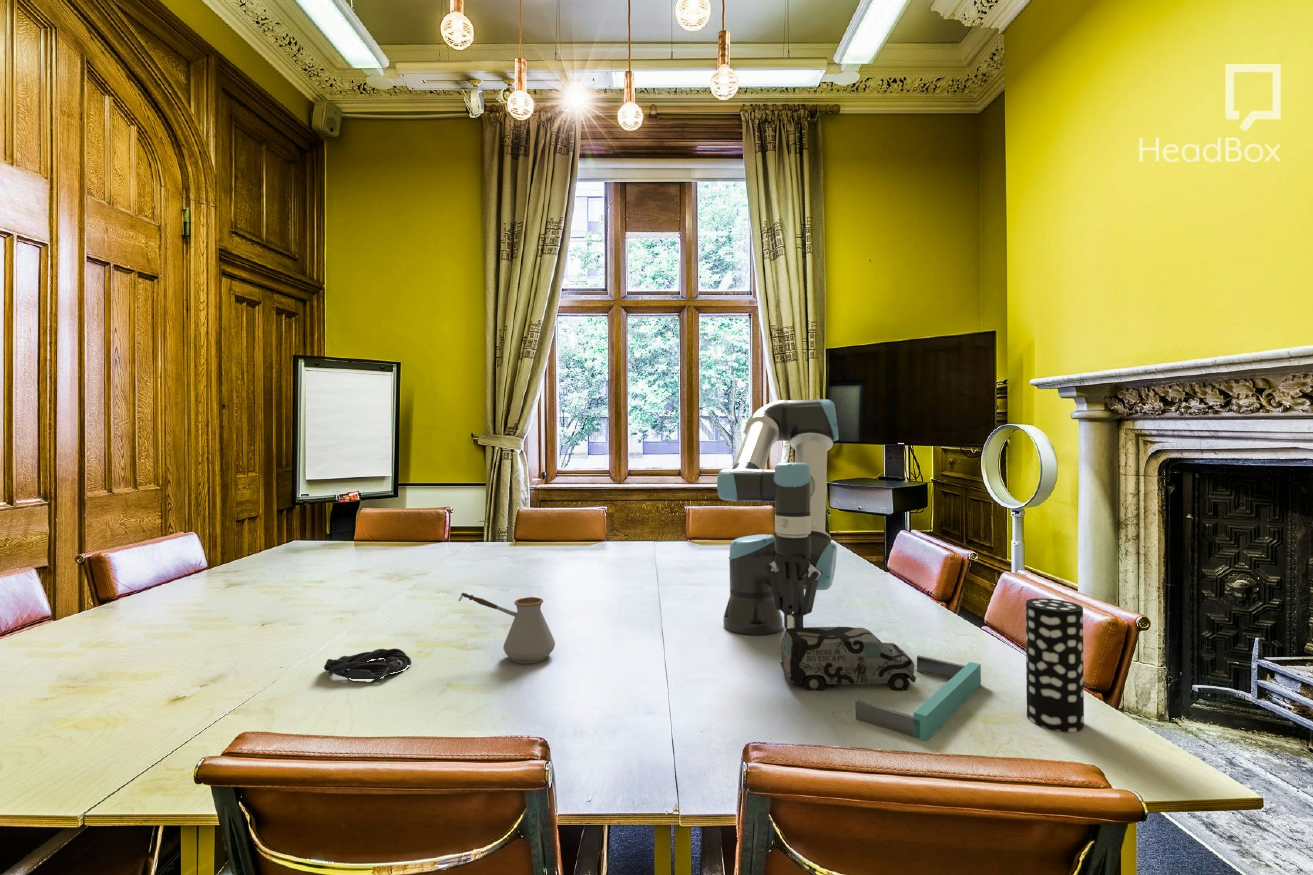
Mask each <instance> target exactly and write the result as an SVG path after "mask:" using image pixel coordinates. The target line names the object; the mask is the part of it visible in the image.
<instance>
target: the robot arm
mask: <svg viewBox="0 0 1313 875" xmlns="http://www.w3.org/2000/svg"><path fill="white" fill-rule="evenodd" d="M744 434H745V437H744V439H743V441H742V443H741V447H740V449H739V451H738V454H737V456H736V459H735V461H734V463H733V465H732V466H733V467H732V468H725V469H720V470H719V472H718V473H717V474H718V475H717V479H716V490H717V495H718V497H719V499H720V500H722V501H730V502H734V503H735V502H736V503H737V502H759V503H760V502H762V503H774V532H775V533H776V536H775V535H773V534H764V533H763V534H754V535H746V536H742V537H738V538H735V539H734V540H732V541H731V543H730V544H729V557H728V560H729V598H728V601H727V603H726V604H727V605H726V608H725V611H724V614H723V627H724V629H726V630H728V631H730V632H733V633H736V634H740V635H742V634H743V635H750V636H752V635H753V636H754V635H755V636H759V635H761V636H762V635H770V634H775V633H777V632H780V631H782V629H783V627H784V629H785V630H786V629H789V628H804V616H806V615H808V614H811V613H812V612H813V609H814V602H815V597H816V594H817V591H827V590H829V589H830V588H831V587H832V585H833V582H834V577H835V573H836V566H837V556H838V547H837V544H835V543H833V542H832V537H831V535H829V533H828V532H826V517H827V516H826V514H827V513H826V512H827V510H826V508H827V480H828V479H827V477H828V476H827V473H828V472H827V468H828V467H827V466H828V451H830V450H831V449H832V448H833V447H834V442H836V441H838V440H839V427H838V423H837V414H836V407H835V403H834V401H832V400H831V399H820V398H816V399H793V400H792V399H790V400H785V399H783V400H775V401H772V402H769V403H767V404H765V405H763V406H762V407H759V409H757V410H756V411H755V412H753V413H752V415H751V416H750V417H749V418H748V420H747V421H746V424H745V427H744ZM781 441H784V442H787V441H788V442H789V444H790V447H791V448H792V449H793V450H794V451H795V452H794V462H779V463H776V465H775V466H774V469H766V465H767V463H768V459H769V456H770V453H771V449H772V447H773V445H774V444H775V443H776V442H781ZM781 612H782V613H783V615H784V616H782V613H781ZM783 621H784V622H783ZM783 625H784V626H783Z"/></svg>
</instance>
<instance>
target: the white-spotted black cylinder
mask: <svg viewBox="0 0 1313 875" xmlns="http://www.w3.org/2000/svg"><path fill="white" fill-rule="evenodd" d="M1025 657H1026V658H1025V664H1026V665H1025V667H1026V669H1025V671H1026V673H1025V674H1026V677H1025V679H1026V681H1025V684H1026V685H1025V686H1026V717H1027V719H1028V720H1029V721H1030V722H1031V723H1032V724H1035V725H1037V726H1039V727H1042V728H1044V729H1048V730H1052V731H1056V732H1063V733H1077V732H1081V731H1082V730H1084V728H1085V717H1084V716H1085V708H1084V707H1085V702H1084V700H1085V699H1084V698H1085V691H1084V688H1085V687H1084V684H1085V683H1084V680H1085V679H1084V678H1085V677H1084V675H1085V674H1084V607H1083V606H1082V605H1080V604H1078V603H1075V602H1071V601H1067V600H1061V599H1056V598H1041V597H1039V598H1029V599H1027V600H1026V601H1025Z"/></svg>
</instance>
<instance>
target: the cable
mask: <svg viewBox="0 0 1313 875" xmlns="http://www.w3.org/2000/svg"><path fill="white" fill-rule="evenodd" d="M379 658H384V659H385V660H386V661H387V662H386V661H385V662H386V663H379V662H378V663H377V662H375V663H373V662H367V661H369V660H371V659H378V660H379ZM407 665H412V660H411V657H409V656H408V655H407V654H406V652H404V650H402V649H399V648H389V649H385V648H378V649H375V650H373V651H364V652H360V653H356V654H353V655H342V656H340V657H339V658H338V659H331V658H328V659H326V662H325V664H324V666H323V669H324V671H328V675H329V674H331V675H335V676H338V677H342V678H346V679H347V678H348V679H349V678H351V679H380V678H381V677H383V676H384V675H385V676H387V675H386V674H390V673H393V672H398V671H401V670H403V669H405V668H406V667H407ZM348 679H347V680H348Z"/></svg>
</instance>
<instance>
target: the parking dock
mask: <svg viewBox="0 0 1313 875" xmlns="http://www.w3.org/2000/svg"><path fill="white" fill-rule="evenodd" d="M981 669H982V666H981V663H976V662H972V661H969V662H968V663H967V664H965V665H963V664H958V663H955V662H950V661H945V660H942V659H936V658H931V657H928V656H923V655H920V654H919V655H917V656H916V671H917V672H920V673H923V674H928V675H931V676H936V677H939V678H945V679H949V680H947V682H946V683H944V684H943V685H942V686H941V687H939V689H938V690H937V691H936V692H935V693H933V694H932V695H931V696H930V697H928V699H927V700H926V701H924V703H922V704H921V705H920V706H918V708H917V709H915V711H914V712H913V715H912V714H908V713H905V712H902V711H897V710H894V709H891V708H888V707H885V706H881V705H878V704H873V703H871V702H867V701H863V700H861V699H857V700H855V702H854V703H855V719H856V720H858V721H862V722H865V723H868V724H872V725H874V726H878V727H881V728H884V729H887V730H891V731H893V732H897V733H900V734H903V735H907V736H910V737H913V738H915V739H919V740H922V741H927V740H929V738H930V737H931V736H932V735H933V734H935V732H937V731H938V730H939V728H941V726H943V724H944V723H945V722H946V721H948V719H949V718H950V717H951V716H952V715H953V714H954V713H955V712H956V711H957V710H958V709H959V708H960V707H961V706H962V705H963V704H964V703H965V701H967V700H968V698H970V697H971V696H972V694H974V692H975V691H977V689H978V688H979V687H980V686H981V685H982V680H981V679H982V676H981V675H982V672H981V671H982V670H981Z"/></svg>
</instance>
